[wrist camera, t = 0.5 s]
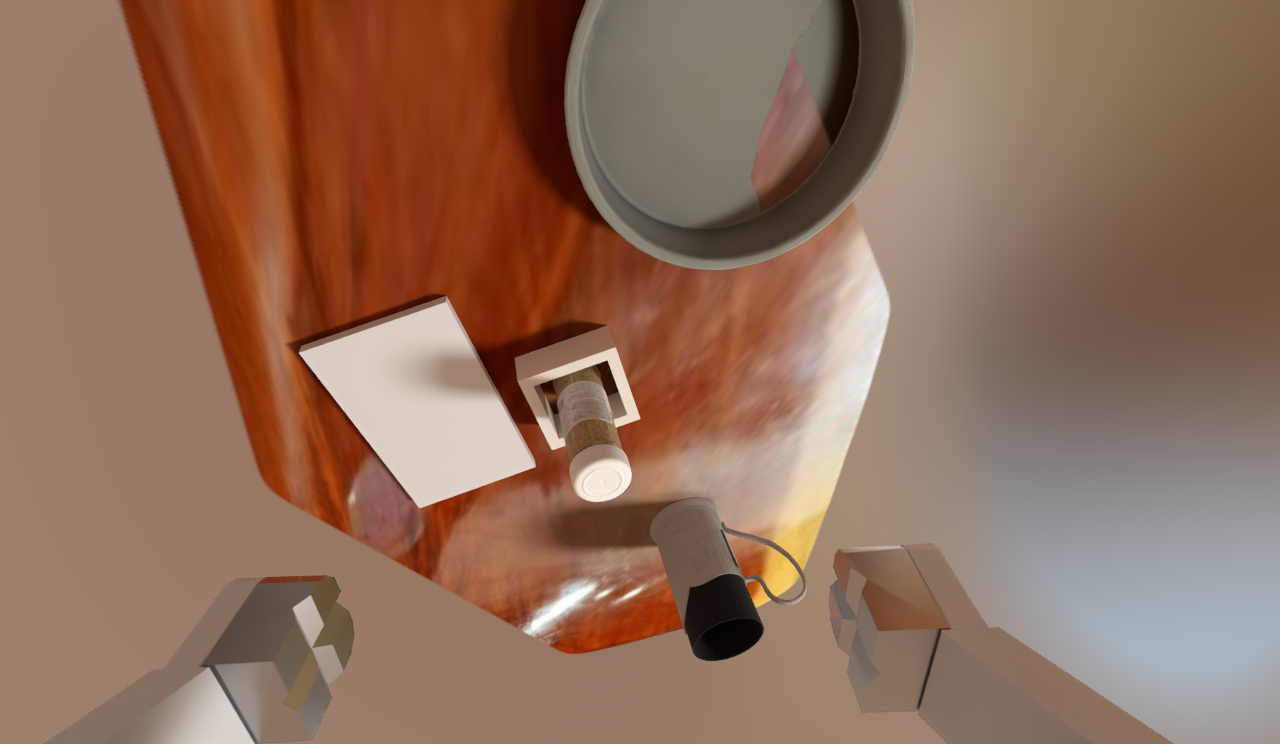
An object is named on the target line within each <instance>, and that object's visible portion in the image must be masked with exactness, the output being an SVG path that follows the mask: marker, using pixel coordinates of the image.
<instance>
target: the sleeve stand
mask: <svg viewBox="0 0 1280 744" xmlns="http://www.w3.org/2000/svg"><path fill="white" fill-rule="evenodd" d="M607 360H608V363H609V366H610V368H611V371H612V374H613V377H614V379H615V382H616V385H617V388H618V390H619V392H617V393H614V394H611V395H608V396H607V398H608V402H609V405H610V408H611V411H612V415H613V420H614V423H615V426H616V427H619V426H622V425H624V424H627V423H630V422H633V421H636V420H638V419H640V416H639V413H638V410H637V408H636V405H635V402H634V399H633V396H632V393H631V390H630V387H629V385H628V382H627V379H626V376H625V373H624V370H623V367H622V364H621V362H620V359H619V356H618V353H617V350H616V347H615V344H614V342H613V339H612V336H611V333H610V331H609V328H608V325H607V326H604V327H601V328H598V329H596V330H593V331H590V332H587V333H584V334H581V335H578V336H576V337H573V338H570V339H567V340H564V341H561V342H558V343H556V344H553V345H550V346H547V347H544V348H541V349H538V350H536V351H533V352H530V353H527V354H524V355H521V356H518V357H516V358H515V364H516V372H517V380H518V383H519V385H520V387H521V389H522V391H523V393H524V395H525V397H526V399H527V401H528V403H529V405H530V407H531V409H532V411H533V413H534V415H535V417H536V419H537V421H538V423H539V425H540V427H541V429H542V431H543V433H544V435H545V437H546V439H547V441H548V443H549V445H550V447H551V449H552V450H554V449H557V448H560V447H563V446H565V440H564V436H563V431H562V426H561V421H560V416H559V413H557V414H555V415H554V413H553V411H552V409H551V407H550V405H549V403H548V401H547V398H546V396H545V394H544V392H543V390H542V388H541V386H540V384H541V383H544V382H547V381H550V380H553V379H556V378H559V377H561V376H564V375H567V374H570V373H573V372H576V371H578V370H581V369H584V368H587V367H590V366H593V365H596V364H598V363H601V362H604V361H607Z"/></svg>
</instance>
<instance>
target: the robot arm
mask: <svg viewBox="0 0 1280 744" xmlns="http://www.w3.org/2000/svg"><path fill="white" fill-rule="evenodd" d="M833 567H834V570H835V573H836V575H837V578H838V579H837V580H836V581H835V582H834V584H832V585H831V586H830V594H829V609H830V610H829V611H830V620H831V624H832V629H833V633H834V636H835V639H836V642H837V644H838V647H839V648H840V649H842V650H843V651H844V652H845V653H846V654H848V655H849V656H850V658H849V664H848V670H847V673H848V676H849V679H850V682H851V684H852V687H853V690H854V693H855V695H856V698H857V701H858V704H859V707H860V709H861V712H862V713H868V712H915V711H919V713H918V715H919V716H920V717H921V718H922V719H923V720H924V721H925V722H926V723H927V724H928V725H929V726H930V727H931V728H932V729H933V730H934V731H935V732H936V733H937V734H938V735H939V736H940V737H941V738H942V739H943V740H944V741H945V742H946V743H947V744H1173V743H1172V742H1170V741H1169V740H1167V739H1165V738H1164V737H1163V736H1161V735H1160V734H1158V733H1157V732H1155V731H1154V730H1152V729H1151V728H1149V727H1148V726H1146V725H1145V724H1143V723H1142V722H1140V721H1139V720H1137V719H1136V718H1134V717H1133V716H1131V715H1129V714H1128V713H1127V712H1125V711H1124V710H1122V709H1121V708H1119V707H1118V706H1116V705H1115V704H1113V703H1112V702H1110V701H1109V700H1107V699H1106V698H1104V697H1103V696H1101V695H1100V694H1098V693H1097V692H1095V691H1094V690H1092V689H1091V688H1089V687H1088V686H1086V685H1085V684H1083V683H1082V682H1080V681H1079V680H1077V679H1076V678H1074V677H1073V676H1071V675H1070V674H1068V673H1067V672H1065V671H1064V670H1062V669H1061V668H1059V667H1058V666H1056V665H1055V664H1053V663H1052V662H1050V661H1049V660H1047V659H1046V658H1044V657H1043V656H1041V655H1039V654H1038V653H1037V652H1035V651H1034V650H1032V649H1031V648H1029V647H1028V646H1026V645H1025V644H1023V643H1022V642H1020V641H1019V640H1017V639H1016V638H1014V637H1012V636H1011V635H1010V634H1008V633H1006V632H1005V631H1004V630H1002V629H1001V628H999V627H998V628H997V627H994V628H993V627H991V628H989V627H988V625H987V624H986V622H985V621H984V619H983V618H982V616H981V614H980V613H979V611H978V610H977V608H976V606H975V605H974V603H973V602H972V600H971V599H970V597H969V595H968V594H967V592H966V590H965V589H964V587H963V586H962V584H961V583H960V581H959V579H958V578H957V576H956V575H955V573H954V571H953V570H952V568H951V567H950V565H949V564H948V562H947V560H946V559H945V557H944V556H943V554H942V553H941V551H940V549H939V548H938V547H937V546H935V545H934V544H932V543H930V544H913V545H901V546H897V545H896V546H879V547H862V548H846V549H838V551H837V552H836V554H835V558H834V564H833ZM340 593H341V590H340V588H339V586H338V584H337V581H336V579H335V577H332V576H292V577H291V576H288V577H266V578H236V579H235V580H233V581H231V582H229V583H228V584H226V585H225V586H224V588H223V589H222V590H221V592H220V593H219V594H218V596H217V597H216V598H215V600H214V601H213V602H212V604H211V605H210V606H209V608H208V609H207V610H206V612H205V613H204V614H203V616H202V617H201V619H200V620H199V621H198V623H197V624H196V625H195V627H194V628H193V629H192V631H191V632H190V633H189V635H188V636H187V637H186V639H185V640H184V641H183V643H182V644H181V645H180V647H179V648H178V649H177V651H176V652H175V654H174V655H173V656H172V658H171V659H170V660H169V662H168V663H167V664H166V666H165V667H164V668H163V669H155V670H152V671H150V672H149V673H148V674H146V675H144V676H143V677H141V678H140V679H138V680H137V681H135V682H134V683H132V684H131V685H129V686H128V687H127V688H125V689H124V690H122V691H121V692H119V693H118V694H116V695H115V696H113V697H112V698H110V699H109V700H107V701H106V702H104V703H103V704H102V705H100V706H98V707H97V708H95V709H94V710H93V711H91V712H90V713H88V714H87V715H85V716H84V717H82V718H81V719H79V720H78V721H77V722H75V723H73V724H72V725H71V726H69V727H68V728H66V729H65V730H63V731H62V732H60V733H59V734H57V735H56V736H54V737H53V738H51V739H50V740H48V741H47V742H45V743H44V744H266V743H278V742H290V741H304V740H313V739H314V736H315V734H316V732H317V730H318V728H319V725H320V723H321V721H322V719H323V717H324V714H325V712H326V710H327V708H328V705H329V703H330V701H331V699H332V696H331V693H330V689H329V686H328V684H330V683H331V682H332V681H333V680H334V679H336V678H337V677H338V676H339V675H340V674H341V673H342V672H344V670H345V667H346V665H347V663H348V660H349V658H350V656H351V652H352V646H353V640H354V628H353V621H352V618H351V615H350V612H349V611H348V610H347V609H346V608H344V607H343V606H341V605H340V604H339V603H337V602H336V601H337V599H338V597H339V594H340Z"/></svg>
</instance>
